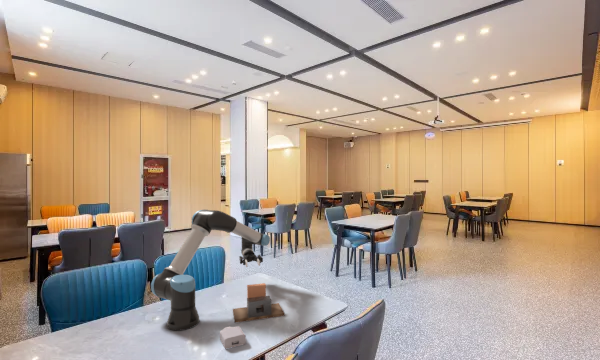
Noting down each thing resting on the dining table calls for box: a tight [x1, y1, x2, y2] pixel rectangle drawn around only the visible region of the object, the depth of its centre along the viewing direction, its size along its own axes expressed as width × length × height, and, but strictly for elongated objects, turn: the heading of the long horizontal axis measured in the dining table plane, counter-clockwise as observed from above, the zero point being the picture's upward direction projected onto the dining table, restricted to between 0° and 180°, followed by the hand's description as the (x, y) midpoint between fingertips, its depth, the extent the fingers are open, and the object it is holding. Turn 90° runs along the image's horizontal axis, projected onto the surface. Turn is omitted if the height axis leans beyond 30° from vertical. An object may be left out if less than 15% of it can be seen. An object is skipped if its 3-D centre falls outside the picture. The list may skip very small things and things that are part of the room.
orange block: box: [246, 282, 267, 308], centre depth 169 cm, size 10×9×12 cm
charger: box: [219, 325, 247, 350], centre depth 140 cm, size 5×9×15 cm
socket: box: [246, 295, 272, 318], centre depth 163 cm, size 12×6×8 cm, turn 106°
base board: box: [232, 302, 285, 324], centre depth 166 cm, size 26×14×2 cm, turn 106°
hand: (253, 264), depth 185 cm, fingers open, 7 cm apart
